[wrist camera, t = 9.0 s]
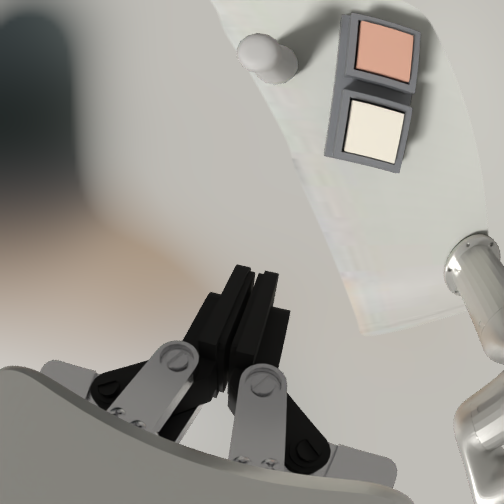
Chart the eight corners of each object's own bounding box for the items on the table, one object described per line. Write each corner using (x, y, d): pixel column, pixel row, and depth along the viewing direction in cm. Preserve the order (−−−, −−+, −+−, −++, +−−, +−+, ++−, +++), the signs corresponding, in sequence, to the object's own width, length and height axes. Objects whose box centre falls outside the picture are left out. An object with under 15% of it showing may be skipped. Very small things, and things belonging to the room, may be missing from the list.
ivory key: (387, 157, 30) (394, 163, 28) (342, 146, 31) (344, 151, 28) (396, 112, 27) (404, 114, 24) (349, 100, 28) (353, 100, 25)
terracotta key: (401, 83, 25) (409, 81, 22) (353, 70, 26) (357, 67, 23) (405, 40, 22) (413, 35, 19) (358, 27, 23) (361, 20, 20)
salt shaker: (293, 43, 29) (279, 18, 18) (304, 80, 32) (295, 71, 21) (252, 52, 31) (220, 34, 20) (262, 89, 34) (234, 85, 23)
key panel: (391, 167, 35) (403, 181, 29) (324, 151, 36) (324, 162, 30) (411, 38, 24) (427, 28, 18) (340, 20, 25) (344, 4, 20)
